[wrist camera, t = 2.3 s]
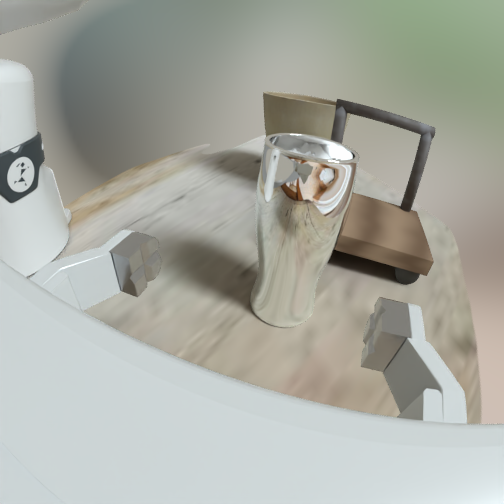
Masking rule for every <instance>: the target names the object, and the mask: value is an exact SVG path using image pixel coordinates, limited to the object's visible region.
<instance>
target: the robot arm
mask: <svg viewBox="0 0 504 504" xmlns="http://www.w3.org/2000/svg"><path fill="white" fill-rule="evenodd" d="M87 1H88V0H0V35H1V34H4V33H7V32H10V31H14V30H17V29H21V28H24V27H28V26H32V25H37V24H41V23H44V22H47V21H50V20H52V19H55V18H58V17H61V16H64V15H66V14H69V13H72V12H75V11H78V10H79V9H80V8H81V7H82V6H83V5H84V4H85V3H86V2H87ZM43 148H44V146H43V142H42V139H41V134H40V133H39V132H37V124H36V113H35V101H34V80H33V76H32V74H31V72H30V71H29V69H28V68H27V67H26V66H24V65H22V64H20V63H17V62H14V61H10V60H6V59H0V504H504V424H467V414H466V402H465V392H464V391H463V389H462V388H461V386H460V385H459V383H458V382H457V380H456V379H455V377H454V376H453V375H452V373H451V372H450V370H449V369H448V367H447V366H446V365H445V363H444V362H443V360H442V359H441V358H440V356H439V355H438V354H437V352H436V351H435V349H434V348H433V347H432V345H431V344H430V343H429V342H426V340H425V332H424V325H423V318H422V311H421V307H420V306H418V305H413V304H409V303H403V302H398V301H394V300H390V299H386V298H382V297H379V298H378V300H377V302H376V304H375V312H374V313H373V314H371V315H370V317H369V319H368V321H367V324H366V327H365V331H364V337H363V342H364V343H365V347H364V349H363V351H362V359H361V367H364V368H368V369H372V370H377V371H381V372H383V374H384V376H385V379H386V381H387V383H388V385H389V388H390V390H391V392H392V394H393V397H394V399H395V401H396V404H397V406H398V408H399V411H400V413H401V414H400V415H399V416H398V417H390V416H384V415H377V414H371V413H366V412H360V411H355V410H350V409H345V408H340V407H335V406H331V405H326V404H322V403H318V402H314V401H309V400H305V399H302V398H298V397H294V396H290V395H286V394H283V393H279V392H276V391H272V390H269V389H266V388H262V387H259V386H256V385H253V384H249V383H246V382H243V381H240V380H237V379H234V378H231V377H228V376H226V375H223V374H220V373H217V372H214V371H212V370H209V369H206V368H204V367H201V366H199V365H196V364H193V363H191V362H188V361H186V360H183V359H181V358H178V357H176V356H174V355H171V354H169V353H167V352H164V351H162V350H160V349H157V348H155V347H153V346H151V345H148V344H146V343H144V342H142V341H140V340H138V339H135V338H133V337H131V336H129V335H127V334H125V333H123V332H121V331H119V330H117V329H115V328H113V327H111V326H109V325H107V324H105V323H103V322H101V321H99V320H98V319H96V318H94V317H92V316H90V315H88V314H86V313H85V312H83V311H84V310H86V309H88V308H90V307H92V306H94V305H96V304H98V303H100V302H102V301H104V300H106V299H108V298H110V297H112V296H114V295H116V294H118V293H120V292H121V291H122V292H125V293H127V294H130V295H133V296H135V297H138V296H139V295H140V294H141V293H142V292H143V291H144V290H145V289H146V288H147V282H149V281H152V280H154V279H155V278H156V276H157V275H158V273H159V271H160V269H161V257H160V255H159V254H158V252H157V250H158V249H159V242H158V240H157V239H156V238H155V237H152V236H149V235H145V234H142V233H139V232H135V231H132V230H128V229H123V230H122V231H120V232H119V233H118V234H116V235H115V236H114V237H113V238H111V239H110V240H109V241H108V242H106V243H105V244H104V245H103V246H101V247H100V248H99V249H98V248H94V249H90V250H87V251H84V252H81V253H77V254H74V255H71V256H68V257H65V258H62V259H59V260H56V261H52V260H53V259H54V258H56V257H57V256H58V254H59V253H60V252H61V251H62V250H63V248H64V247H65V245H66V243H67V241H68V239H69V228H68V224H69V222H70V220H71V217H72V215H71V212H70V210H69V209H66V208H64V207H63V204H62V201H61V198H60V194H59V191H58V187H57V184H56V180H55V177H54V173H53V171H52V169H51V168H49V167H47V166H45V165H44V164H43V162H44V159H45V158H44V151H43ZM51 261H52V262H51ZM37 271H38V272H37ZM35 272H37V273H35ZM33 273H35V274H34V275H33V276H32V277H31V278H30V279H28V278H27V276H29V275H31V274H33Z"/></svg>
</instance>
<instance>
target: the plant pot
mask: <svg viewBox="0 0 504 504" xmlns="http://www.w3.org/2000/svg"><path fill="white" fill-rule="evenodd" d="M263 99H264V118H265V130H266V137H267V136H269V135H272V134H277V133H298V134H306V135H312V136H317V137H322V138H326V139H329V140H331V134H332V128H333V122H334V117H335V111H336V103H337V102H335V101H331V100H327V99H322V98H317V97H312V96H306V95H300V94H291V93H283V92H263ZM350 115H351V114H350V113H347V118H346V124H345V129H346V126H347V123H348V120H349V117H350ZM345 129H344V131H345Z"/></svg>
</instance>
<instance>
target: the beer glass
mask: <svg viewBox="0 0 504 504" xmlns="http://www.w3.org/2000/svg"><path fill="white" fill-rule="evenodd" d="M358 161H359V154H358V153H357V152H356V151H355V150H353V149H351V148H350V147H348V146H346V145H343V144H341V143H339V142H336V141H333V140H329V139H326V138H322V137H317V136H312V135H306V134H298V133H277V134H272V135H269V136H267V137H266V138H265V144H264V150H263V155H262V160H261V165H260V170H259V176H258V183H257V190H256V201H255V228H256V240H257V250H258V274H257V278H256V282H255V284H254V287H253V289H252V292H251V296H250V304H251V308H252V310H253V312H254V313H255V314H256V315H257V317H259V318H260V319H261V320H263V321H264V322H266V323H268V324H270V325H273V326H277V327H294V326H298V325H301V324H303V323H304V322H306V321H307V320H308V319H309V318H310V316H311V315H312V313H313V310H314V304H315V291H316V286H317V283H318V280H319V278H320V275H321V273H322V272H323V270H324V268H325V266H326V264H327V262H328V260H329V258H330V257H331V255H332V253H333V251H334V249H335V247H336V245H337V243H338V241H339V239H340V236H341V234H342V232H343V229H344V227H345V224H346V220H347V217H348V214H349V211H350V206H351V202H352V198H353V193H354V187H355V181H356V174H357V167H358Z"/></svg>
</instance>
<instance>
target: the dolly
mask: <svg viewBox="0 0 504 504" xmlns="http://www.w3.org/2000/svg"><path fill="white" fill-rule="evenodd" d="M347 113H350V114H354V115H358V116H362V117H366V118H370V119H373V120H377V121H380V122H384V123H387V124H390V125H394V126H397V127H400V128H403V129H406V130H409V131H412V132H415V133H418V134H421V138H420V142H419V146H418V150H417V154H416V157H415V161H414V165H413V168H412V171H411V175H410V178H409V181H408V185H407V188H406V191H405V194H404V197H403V201H402V204H401V207H400V206H397V205H394V204H391V203H387V202H384V201H381V200H377V199H374V198H370V197H367V196H363V195H360V194H356V193H353V198H352V202H351V206H350V211H349V214H348V217H347V220H346V224H345V227H344V229H343V232H342V234H341V236H340V239H339V241H338V243H337V245H336V247H335V249H334V250H337V251H341V252H345V253H348V254H352V255H355V256H359V257H363V258H366V259H370V260H373V261H377V262H380V263H384V264H387V265H391V266H394V267H395V274H396V279H397V280H398V281H399V282H400V283H402V284H411V283H414V282H415V281H416V280H417V279H418V278H419V275H420V274H422V275H425V276H427V274H428V272H429V270H430V268H431V266H432V264H433V262H434V261H433V258H432V255H431V252H430V248H429V245H428V242H427V239H426V236H425V233H424V230H423V228H422V225H421V222H420V219H419V217H418V214H417V212H416V211H413V210H411V207H412V204H413V202H414V199H415V196H416V193H417V189H418V186H419V183H420V180H421V177H422V173H423V170H424V166H425V163H426V160H427V156H428V152H429V149H430V145H431V141H432V138H433V137H434V135H435V128H434V127H432V126H429V125H426V124H424V123H421V122H418V121H415V120H412V119H409V118H406V117H403V116H400V115H396V114H393V113H390V112H387V111H383V110H380V109H376V108H373V107H369V106H365V105H361V104H357V103H353V102H349V101H344V100H340V99H337V103H336V111H335V117H334V122H333V128H332V134H331V140H333V141H336V142H339V143H341V144H342V140H343V134H344V129H345V124H346V118H347Z"/></svg>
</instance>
